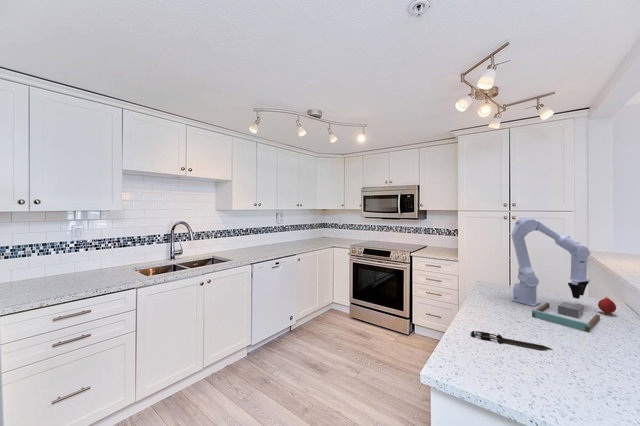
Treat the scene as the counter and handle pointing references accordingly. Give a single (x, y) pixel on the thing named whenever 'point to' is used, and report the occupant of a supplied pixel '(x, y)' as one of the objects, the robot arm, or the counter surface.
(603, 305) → the red rounded lump
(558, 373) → the counter surface
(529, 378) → the counter surface
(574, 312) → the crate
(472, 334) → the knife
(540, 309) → the bay
